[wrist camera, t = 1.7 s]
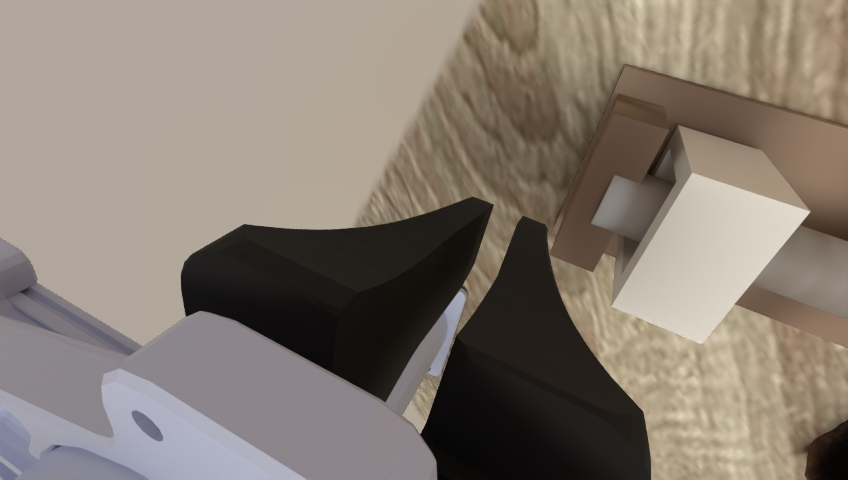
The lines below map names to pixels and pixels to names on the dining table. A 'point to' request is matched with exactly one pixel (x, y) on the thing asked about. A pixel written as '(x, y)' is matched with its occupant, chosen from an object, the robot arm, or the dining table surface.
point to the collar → (705, 234)
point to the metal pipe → (829, 455)
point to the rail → (728, 121)
